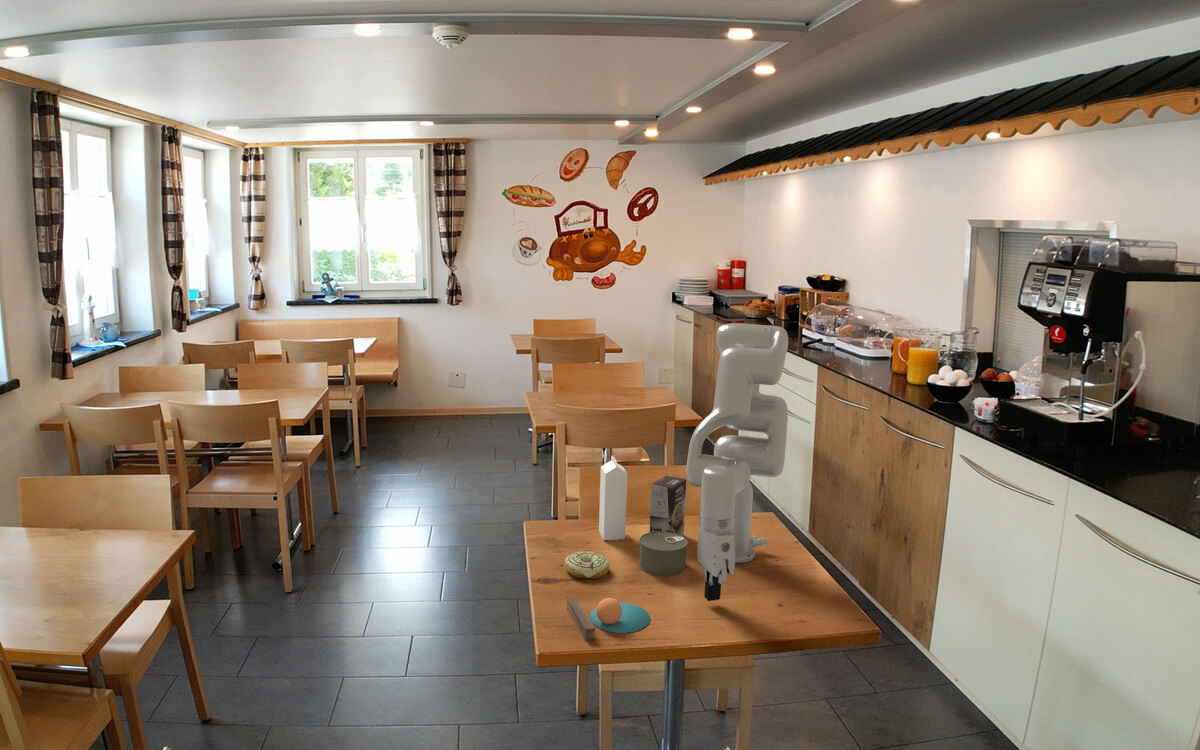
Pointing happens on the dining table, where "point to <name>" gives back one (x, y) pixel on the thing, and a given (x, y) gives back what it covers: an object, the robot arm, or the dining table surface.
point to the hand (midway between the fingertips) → (712, 598)
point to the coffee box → (668, 505)
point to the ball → (609, 611)
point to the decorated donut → (587, 565)
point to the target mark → (624, 619)
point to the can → (663, 553)
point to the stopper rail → (580, 618)
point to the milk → (612, 501)
